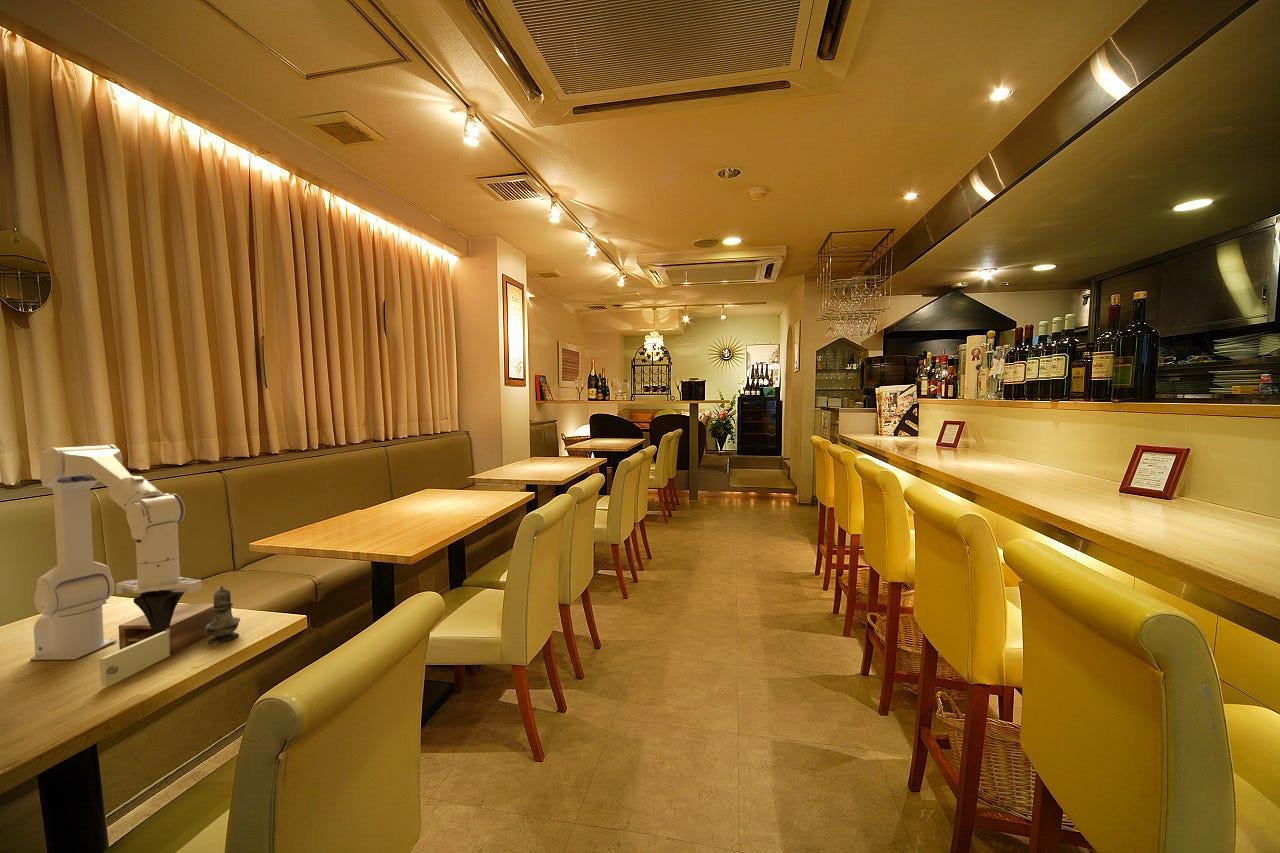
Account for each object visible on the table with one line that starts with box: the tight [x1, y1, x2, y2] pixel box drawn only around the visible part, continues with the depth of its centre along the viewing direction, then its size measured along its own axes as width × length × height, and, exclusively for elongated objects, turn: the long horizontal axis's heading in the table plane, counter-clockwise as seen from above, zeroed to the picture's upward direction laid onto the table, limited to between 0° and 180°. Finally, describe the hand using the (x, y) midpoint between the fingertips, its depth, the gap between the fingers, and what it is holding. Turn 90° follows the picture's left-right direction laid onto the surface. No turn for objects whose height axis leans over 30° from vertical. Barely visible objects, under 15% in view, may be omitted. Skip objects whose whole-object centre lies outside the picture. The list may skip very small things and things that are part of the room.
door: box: [99, 629, 172, 688], centre depth 92 cm, size 11×2×6 cm, turn 175°
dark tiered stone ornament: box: [205, 585, 241, 646], centre depth 105 cm, size 6×6×12 cm
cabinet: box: [118, 603, 214, 656], centre depth 104 cm, size 11×11×6 cm
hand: (161, 628), depth 91 cm, fingers closed
